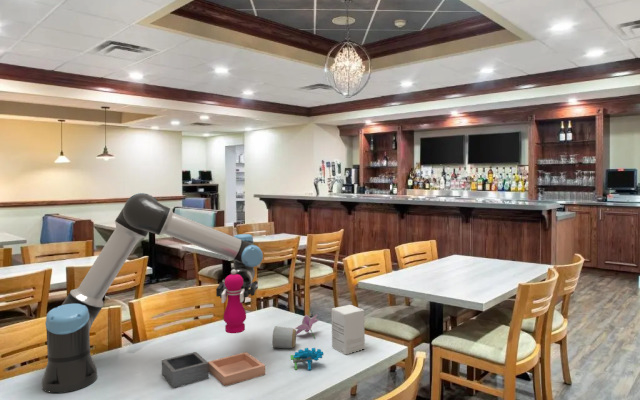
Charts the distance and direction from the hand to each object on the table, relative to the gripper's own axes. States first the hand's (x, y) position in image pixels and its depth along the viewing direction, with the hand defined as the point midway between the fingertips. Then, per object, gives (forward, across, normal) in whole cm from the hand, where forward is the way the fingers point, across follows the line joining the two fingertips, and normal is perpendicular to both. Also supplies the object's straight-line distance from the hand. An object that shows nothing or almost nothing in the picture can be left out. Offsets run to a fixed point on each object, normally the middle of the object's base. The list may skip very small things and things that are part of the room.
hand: (232, 298), depth 141 cm
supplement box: (-22, -39, -26) cm, 52 cm away
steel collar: (-3, +16, -26) cm, 31 cm away
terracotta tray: (-5, 0, -26) cm, 27 cm away
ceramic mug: (-27, -15, -26) cm, 41 cm away
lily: (-37, -24, -26) cm, 51 cm away
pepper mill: (-5, 0, -12) cm, 13 cm away
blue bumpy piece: (-8, -23, -26) cm, 36 cm away
